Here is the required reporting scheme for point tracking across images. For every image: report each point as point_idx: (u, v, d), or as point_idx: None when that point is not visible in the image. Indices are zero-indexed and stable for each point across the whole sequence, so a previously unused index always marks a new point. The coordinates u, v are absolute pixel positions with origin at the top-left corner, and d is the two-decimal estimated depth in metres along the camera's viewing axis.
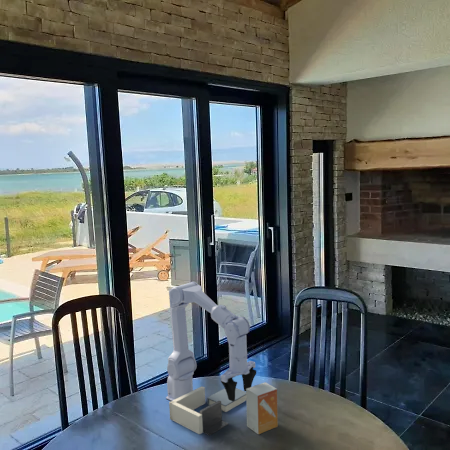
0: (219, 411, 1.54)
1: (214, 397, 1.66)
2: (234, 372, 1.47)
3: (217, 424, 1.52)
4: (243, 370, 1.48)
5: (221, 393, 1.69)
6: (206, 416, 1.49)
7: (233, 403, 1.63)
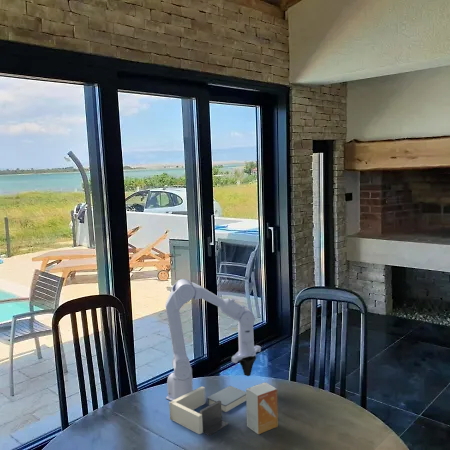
0: (219, 411, 1.54)
1: (214, 396, 1.66)
2: (243, 354, 1.71)
3: (217, 424, 1.52)
4: (250, 352, 1.72)
5: (221, 393, 1.69)
6: (206, 416, 1.49)
7: (233, 403, 1.63)
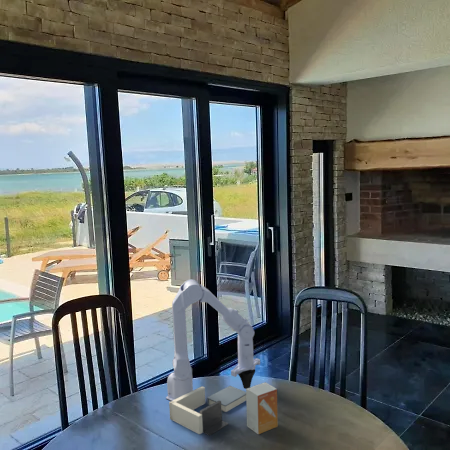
0: (219, 411, 1.54)
1: (214, 397, 1.67)
2: (242, 368, 1.72)
3: (217, 424, 1.52)
4: (250, 366, 1.72)
5: (221, 393, 1.69)
6: (206, 416, 1.49)
7: (233, 403, 1.63)
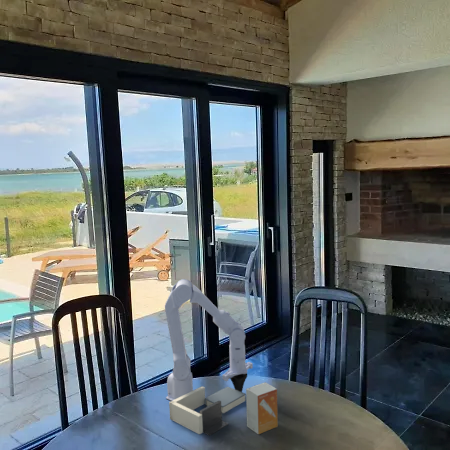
0: (219, 411, 1.54)
1: (211, 397, 1.66)
2: (234, 372, 1.68)
3: (217, 424, 1.52)
4: (242, 370, 1.68)
5: (219, 394, 1.68)
6: (206, 416, 1.49)
7: (231, 404, 1.63)
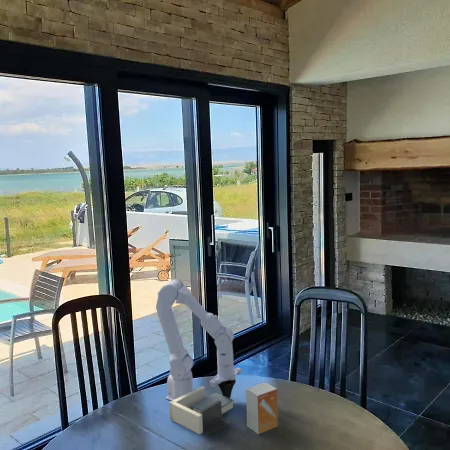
0: (219, 411, 1.54)
1: (198, 404, 1.61)
2: (222, 378, 1.64)
3: (217, 424, 1.52)
4: (230, 376, 1.64)
5: (206, 401, 1.63)
6: (206, 416, 1.49)
7: None
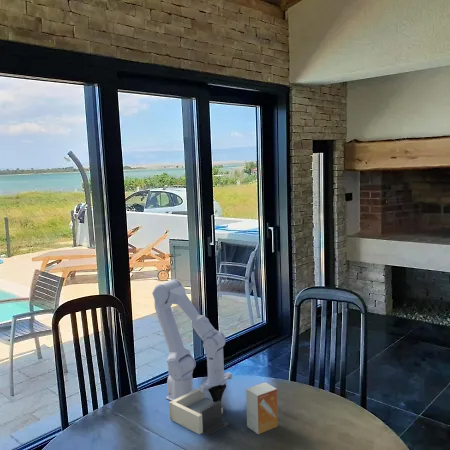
0: (219, 411, 1.54)
1: None
2: (211, 383, 1.60)
3: (217, 424, 1.52)
4: (220, 381, 1.60)
5: (195, 406, 1.60)
6: (206, 416, 1.49)
7: None
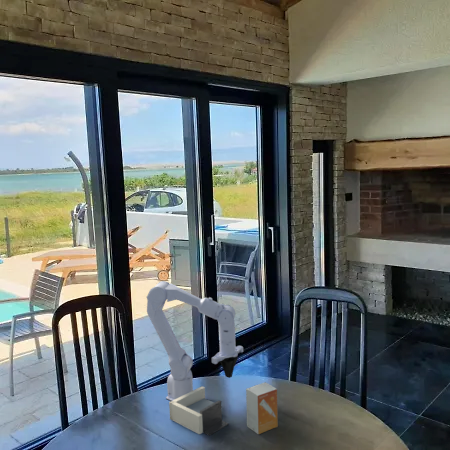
0: (219, 411, 1.54)
1: None
2: (224, 355, 1.64)
3: (217, 424, 1.52)
4: (232, 353, 1.64)
5: (193, 406, 1.60)
6: (206, 416, 1.49)
7: None
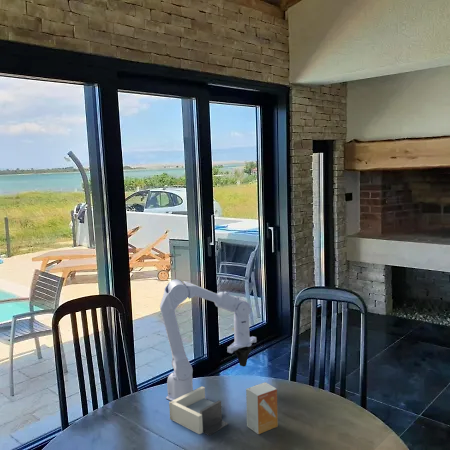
0: (219, 411, 1.54)
1: None
2: (238, 345, 1.72)
3: (217, 424, 1.52)
4: (246, 343, 1.73)
5: (193, 406, 1.60)
6: (206, 416, 1.49)
7: None
